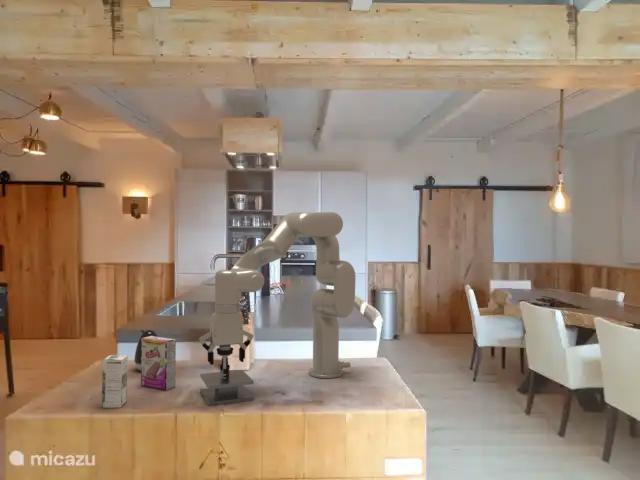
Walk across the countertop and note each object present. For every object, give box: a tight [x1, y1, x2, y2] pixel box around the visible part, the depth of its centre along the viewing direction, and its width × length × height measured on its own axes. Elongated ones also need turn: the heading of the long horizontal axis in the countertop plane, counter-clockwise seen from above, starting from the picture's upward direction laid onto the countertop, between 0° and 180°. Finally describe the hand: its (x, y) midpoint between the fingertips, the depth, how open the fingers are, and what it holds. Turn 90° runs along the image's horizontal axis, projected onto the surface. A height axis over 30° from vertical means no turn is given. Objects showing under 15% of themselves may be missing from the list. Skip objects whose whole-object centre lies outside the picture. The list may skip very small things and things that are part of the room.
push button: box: [216, 345, 234, 379], centre depth 166 cm, size 7×5×10 cm
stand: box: [199, 369, 255, 407], centre depth 166 cm, size 14×14×6 cm
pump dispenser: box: [133, 329, 159, 372], centre depth 196 cm, size 10×10×15 cm
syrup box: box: [101, 354, 128, 409], centre depth 157 cm, size 6×6×14 cm
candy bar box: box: [140, 336, 177, 391], centre depth 175 cm, size 11×5×16 cm, turn 65°
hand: (226, 362), depth 166 cm, fingers open, 9 cm apart
